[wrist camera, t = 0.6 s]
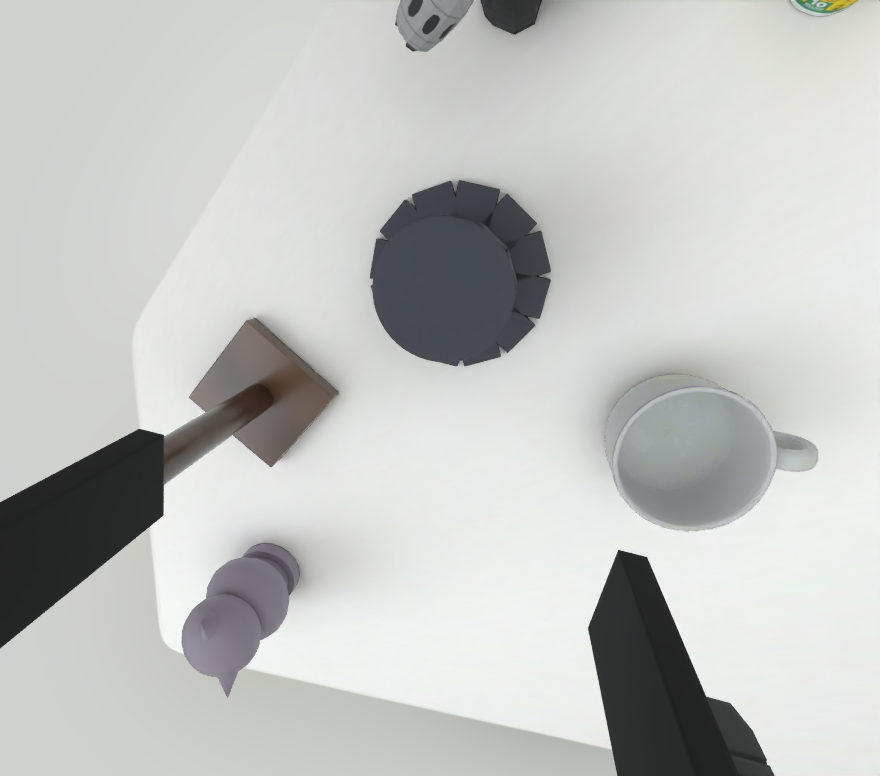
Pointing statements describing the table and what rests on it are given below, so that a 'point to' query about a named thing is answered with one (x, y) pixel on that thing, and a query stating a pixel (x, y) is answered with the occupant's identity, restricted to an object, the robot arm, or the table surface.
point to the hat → (459, 274)
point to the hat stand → (250, 401)
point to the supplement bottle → (822, 6)
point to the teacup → (695, 452)
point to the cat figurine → (239, 611)
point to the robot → (458, 18)
